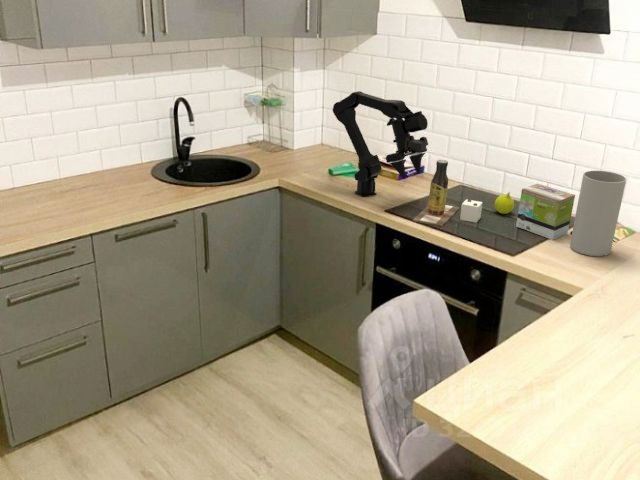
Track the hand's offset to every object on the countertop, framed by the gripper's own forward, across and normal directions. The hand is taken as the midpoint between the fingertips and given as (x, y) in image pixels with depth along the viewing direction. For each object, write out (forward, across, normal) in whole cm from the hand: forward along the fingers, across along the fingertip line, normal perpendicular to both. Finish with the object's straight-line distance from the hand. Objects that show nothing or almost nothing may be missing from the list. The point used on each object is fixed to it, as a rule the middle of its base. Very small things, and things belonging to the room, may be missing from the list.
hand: (411, 175), depth 239 cm
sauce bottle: (+15, 0, -7) cm, 17 cm away
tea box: (+29, +13, -39) cm, 50 cm away
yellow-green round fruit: (+22, +19, -23) cm, 37 cm away
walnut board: (+16, 0, -7) cm, 17 cm away
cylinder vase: (+35, +8, -57) cm, 67 cm away
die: (+20, +5, -17) cm, 27 cm away
